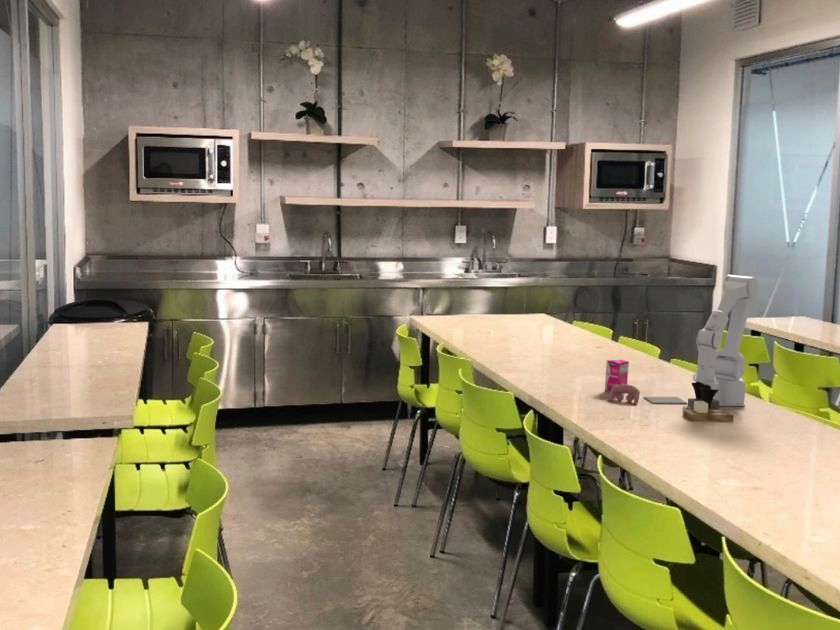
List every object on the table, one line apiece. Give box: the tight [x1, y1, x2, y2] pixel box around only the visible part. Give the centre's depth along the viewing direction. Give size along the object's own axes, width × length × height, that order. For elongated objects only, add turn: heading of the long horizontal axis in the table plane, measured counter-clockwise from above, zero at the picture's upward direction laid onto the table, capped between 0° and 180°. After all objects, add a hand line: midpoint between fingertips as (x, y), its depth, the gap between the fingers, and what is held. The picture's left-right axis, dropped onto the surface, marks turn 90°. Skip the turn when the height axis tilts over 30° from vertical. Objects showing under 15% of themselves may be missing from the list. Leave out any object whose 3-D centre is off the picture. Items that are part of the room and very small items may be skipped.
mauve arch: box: [608, 384, 641, 406], centre depth 287 cm, size 10×5×7 cm, turn 66°
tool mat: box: [643, 396, 688, 405], centre depth 289 cm, size 12×8×1 cm, turn 97°
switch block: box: [682, 409, 734, 422], centre depth 268 cm, size 14×6×2 cm, turn 97°
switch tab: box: [694, 401, 708, 413], centre depth 268 cm, size 3×4×3 cm
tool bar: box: [682, 397, 720, 411], centre depth 278 cm, size 11×4×4 cm, turn 97°
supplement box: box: [604, 358, 630, 393], centre depth 300 cm, size 6×6×12 cm
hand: (703, 406), depth 278 cm, fingers closed on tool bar, 4 cm apart
